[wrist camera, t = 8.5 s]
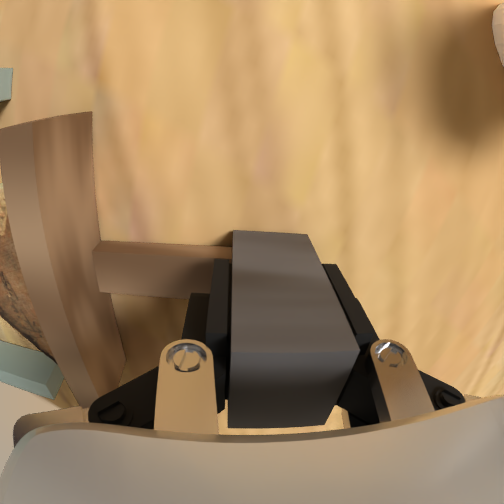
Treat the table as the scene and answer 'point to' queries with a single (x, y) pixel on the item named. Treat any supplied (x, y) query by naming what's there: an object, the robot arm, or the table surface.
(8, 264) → the shard
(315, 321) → the wall doorstop
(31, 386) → the bracket
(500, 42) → the shot glass
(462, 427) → the robot arm
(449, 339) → the table surface
